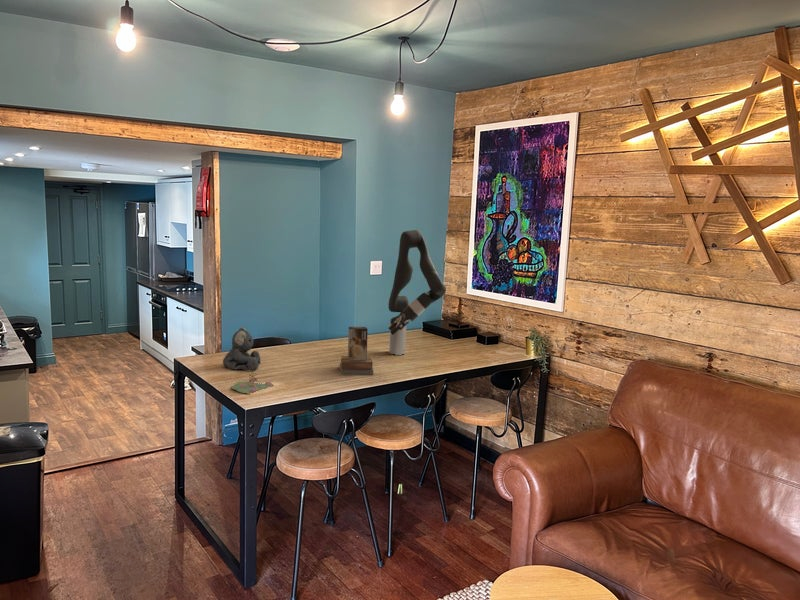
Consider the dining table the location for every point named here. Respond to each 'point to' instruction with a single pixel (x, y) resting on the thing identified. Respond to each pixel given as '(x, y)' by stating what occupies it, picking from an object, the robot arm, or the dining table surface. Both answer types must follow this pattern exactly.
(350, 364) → the walnut brick
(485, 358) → the dining table surface
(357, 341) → the coffee box
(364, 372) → the baseplate
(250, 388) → the plant
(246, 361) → the koala plush
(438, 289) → the robot arm
